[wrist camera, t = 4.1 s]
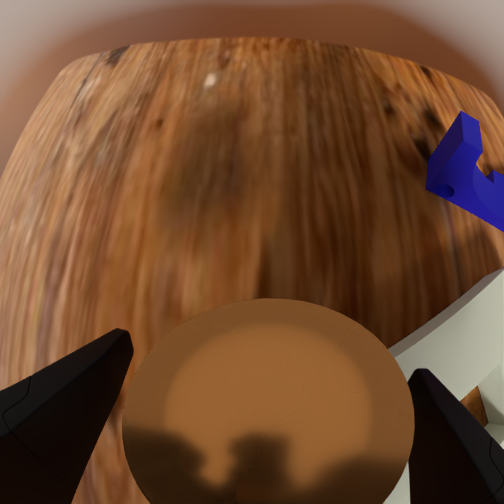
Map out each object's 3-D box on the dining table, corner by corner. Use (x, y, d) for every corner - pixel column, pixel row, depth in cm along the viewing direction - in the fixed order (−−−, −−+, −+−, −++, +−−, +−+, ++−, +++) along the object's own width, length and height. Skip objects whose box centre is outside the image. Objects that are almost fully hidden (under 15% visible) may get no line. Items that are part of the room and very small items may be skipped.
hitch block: (391, 542, 10) (406, 562, 7) (316, 389, 15) (327, 396, 12) (530, 425, 11) (554, 427, 9) (484, 276, 16) (510, 263, 13)
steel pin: (251, 415, 14) (201, 573, 2) (223, 357, 15) (83, 361, 3) (311, 387, 15) (443, 477, 2) (284, 330, 16) (340, 248, 4)
